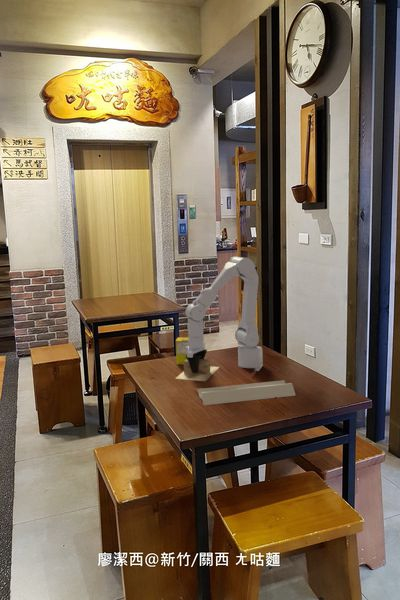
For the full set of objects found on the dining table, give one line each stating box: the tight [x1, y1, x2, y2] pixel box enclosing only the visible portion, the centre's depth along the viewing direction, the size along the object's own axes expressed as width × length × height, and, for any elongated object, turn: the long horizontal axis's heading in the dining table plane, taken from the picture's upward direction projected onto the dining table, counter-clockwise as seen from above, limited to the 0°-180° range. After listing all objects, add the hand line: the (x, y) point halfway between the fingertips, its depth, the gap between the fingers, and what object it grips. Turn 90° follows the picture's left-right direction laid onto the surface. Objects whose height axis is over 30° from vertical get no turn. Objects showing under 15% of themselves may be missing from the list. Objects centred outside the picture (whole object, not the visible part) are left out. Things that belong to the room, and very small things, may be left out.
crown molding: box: [197, 379, 296, 406], centre depth 167 cm, size 31×12×4 cm, turn 101°
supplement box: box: [175, 336, 189, 365], centre depth 202 cm, size 6×6×11 cm
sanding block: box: [183, 358, 211, 376], centre depth 187 cm, size 9×4×5 cm, turn 70°
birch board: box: [175, 365, 220, 382], centre depth 189 cm, size 12×17×1 cm
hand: (197, 370), depth 188 cm, fingers closed on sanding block, 4 cm apart
